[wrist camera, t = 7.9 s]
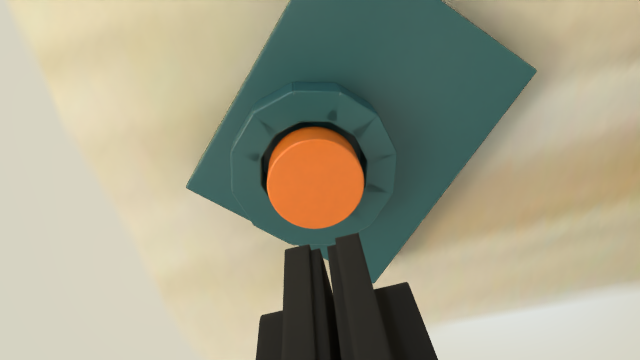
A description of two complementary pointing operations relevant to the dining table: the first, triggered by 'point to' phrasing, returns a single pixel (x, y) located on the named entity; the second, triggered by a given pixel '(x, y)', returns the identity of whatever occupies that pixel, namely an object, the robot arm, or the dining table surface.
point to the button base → (364, 113)
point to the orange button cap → (314, 178)
